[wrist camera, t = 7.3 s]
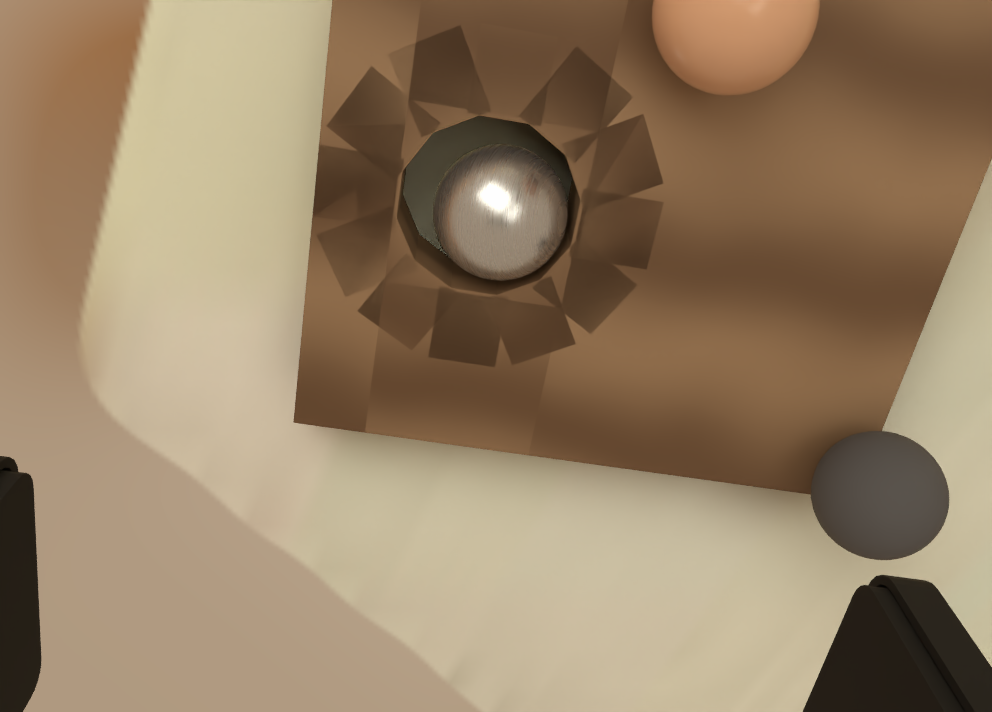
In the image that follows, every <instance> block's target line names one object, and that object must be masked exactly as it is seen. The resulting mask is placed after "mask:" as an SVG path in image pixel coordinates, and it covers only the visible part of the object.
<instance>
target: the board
mask: <svg viewBox="0 0 992 712" xmlns="http://www.w3.org/2000/svg"><path fill="white" fill-rule="evenodd" d="M652 5H653V0H333V1H332V12H331V22H330V33H329V44H328V55H327V66H326V77H325V88H324V98H323V109H322V120H321V131H320V142H319V153H318V163H317V174H316V185H315V196H314V207H313V218H312V229H311V239H310V250H309V261H308V272H307V283H306V294H305V305H304V315H303V326H302V337H301V348H300V359H299V370H298V381H297V391H296V402H295V413H294V423H301V424H308V425H315V426H322V427H329V428H337V429H344V430H351V431H358V432H365V433H373V434H380V435H387V436H394V437H401V438H409V439H416V440H423V441H430V442H437V443H445V444H452V445H459V446H466V447H473V448H481V449H488V450H495V451H502V452H510V453H517V454H524V455H531V456H538V457H546V458H553V459H560V460H567V461H574V462H582V463H589V464H596V465H603V466H610V467H618V468H625V469H632V470H639V471H646V472H654V473H661V474H668V475H675V476H682V477H690V478H697V479H704V480H711V481H718V482H726V483H733V484H740V485H747V486H754V487H762V488H769V489H776V490H783V491H790V492H798V493H805V494H811V484H812V478H813V475H814V472H815V469H816V467H817V465H818V463H819V461H820V460H821V458H822V457H823V456H824V454H825V453H826V452H827V451H828V450H829V449H830V448H831V447H832V446H833V445H835V444H836V443H837V442H839V441H841V440H842V439H844V438H846V437H848V436H851V435H854V434H857V433H862V432H868V431H882V428H883V426H884V423H885V421H886V418H887V416H888V413H889V411H890V409H891V406H892V404H893V401H894V399H895V396H896V394H897V391H898V389H899V386H900V384H901V381H902V379H903V376H904V374H905V371H906V369H907V366H908V364H909V362H910V359H911V357H912V354H913V352H914V349H915V347H916V344H917V342H918V339H919V337H920V334H921V332H922V329H923V327H924V324H925V322H926V319H927V317H928V314H929V312H930V310H931V307H932V305H933V302H934V300H935V297H936V295H937V292H938V290H939V287H940V285H941V282H942V280H943V277H944V275H945V272H946V270H947V267H948V265H949V263H950V260H951V258H952V255H953V253H954V250H955V248H956V245H957V243H958V240H959V238H960V235H961V233H962V230H963V228H964V225H965V223H966V220H967V218H968V215H969V213H970V211H971V208H972V206H973V203H974V201H975V198H976V196H977V193H978V191H979V188H980V186H981V183H982V181H983V178H984V176H985V173H986V171H987V168H988V166H989V164H990V161H991V159H992V0H820V9H819V17H818V21H817V26H816V29H815V32H814V35H813V37H812V40H811V41H810V43H809V45H808V47H807V49H806V51H805V52H804V54H803V55H802V57H801V58H800V59H799V60H798V62H797V63H796V64H795V65H794V66H793V67H792V68H791V69H790V70H789V71H788V72H787V73H786V74H785V75H784V76H782V77H781V78H780V79H778V80H777V81H775V82H774V83H772V84H770V85H769V86H767V87H764V88H762V89H760V90H757V91H754V92H751V93H747V94H741V95H730V96H723V95H714V94H710V93H707V92H703V91H701V90H699V89H696V88H694V87H692V86H690V85H688V84H687V83H685V82H684V81H682V80H681V79H680V78H679V77H678V76H676V74H675V73H674V72H673V71H672V70H671V69H670V68H669V67H668V65H667V64H666V62H665V61H664V59H663V58H662V56H661V54H660V52H659V50H658V47H657V44H656V42H655V38H654V33H653V28H652ZM479 115H480V116H486V117H492V118H498V119H503V120H509V121H515V122H521V123H527V124H529V125H531V126H532V127H533V128H534V129H535V130H536V131H538V132H539V133H540V134H541V135H542V136H543V137H545V138H546V139H547V140H548V141H549V142H550V143H552V144H553V145H554V146H555V147H556V148H557V149H559V150H560V151H561V152H562V153H563V154H564V155H565V158H566V161H567V164H568V167H569V170H570V173H571V176H572V183H571V188H570V193H569V198H568V202H567V205H568V219H567V225H566V230H565V234H564V237H563V239H562V241H561V243H560V245H559V247H558V249H557V250H556V252H555V253H554V254H553V256H552V257H551V258H550V259H549V260H548V261H547V262H546V263H545V264H544V265H543V266H541V267H540V268H539V269H537V270H536V271H534V272H532V273H530V274H528V275H526V276H523V277H520V278H517V279H512V280H502V281H498V280H489V279H484V278H480V277H478V276H475V275H473V274H471V273H469V272H467V271H465V270H464V269H462V268H461V267H459V266H458V265H457V264H456V263H455V262H454V261H453V260H451V259H450V258H449V257H448V256H446V255H445V254H444V253H442V252H441V251H440V250H439V249H437V248H436V247H435V246H433V245H432V244H431V243H429V242H428V241H427V240H426V239H424V238H423V237H422V236H420V235H419V233H418V231H417V228H416V226H415V223H414V221H413V219H412V216H411V214H410V211H409V209H408V207H407V204H406V202H405V200H404V197H403V187H404V180H405V172H406V166H407V165H408V164H409V162H410V161H411V160H412V159H413V157H414V156H415V155H416V153H417V152H418V151H419V150H420V148H421V147H422V146H423V145H424V143H425V142H426V141H427V140H428V138H429V137H430V136H431V135H432V133H434V132H437V131H439V130H442V129H445V128H447V127H450V126H453V125H455V124H458V123H461V122H463V121H466V120H469V119H471V118H474V117H476V116H479Z"/></svg>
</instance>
